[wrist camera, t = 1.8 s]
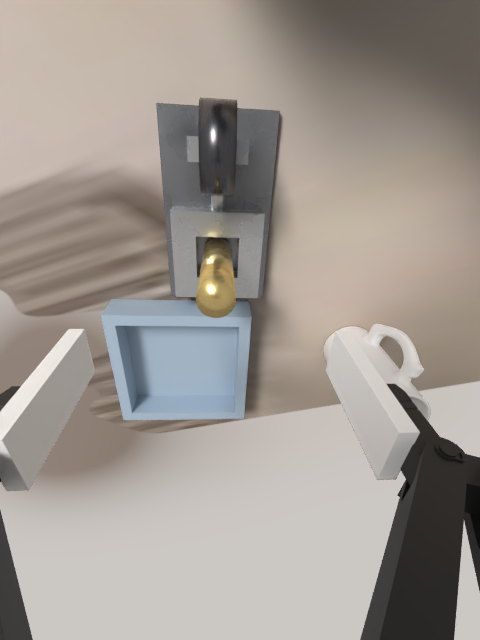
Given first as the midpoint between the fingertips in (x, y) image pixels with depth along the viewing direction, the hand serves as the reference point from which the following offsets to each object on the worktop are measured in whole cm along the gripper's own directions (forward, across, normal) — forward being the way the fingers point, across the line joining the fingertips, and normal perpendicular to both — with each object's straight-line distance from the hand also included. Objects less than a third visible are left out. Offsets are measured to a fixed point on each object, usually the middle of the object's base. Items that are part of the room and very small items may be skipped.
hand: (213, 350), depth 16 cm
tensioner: (+17, 0, +4) cm, 18 cm away
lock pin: (+17, 0, 0) cm, 17 cm away
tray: (+17, -4, -13) cm, 22 cm away
